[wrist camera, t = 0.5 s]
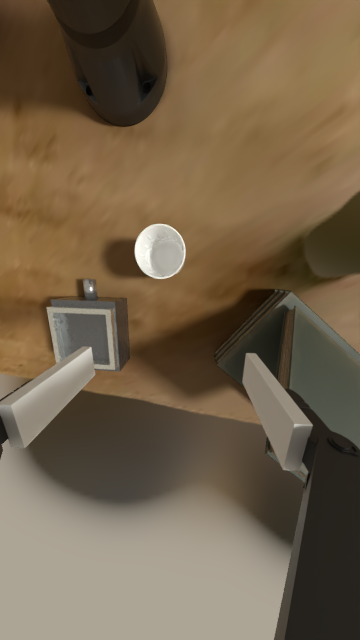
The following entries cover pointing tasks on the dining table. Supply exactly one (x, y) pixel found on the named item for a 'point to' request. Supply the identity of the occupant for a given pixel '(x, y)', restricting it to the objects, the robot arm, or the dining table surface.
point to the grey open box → (91, 327)
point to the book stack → (300, 362)
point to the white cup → (160, 251)
